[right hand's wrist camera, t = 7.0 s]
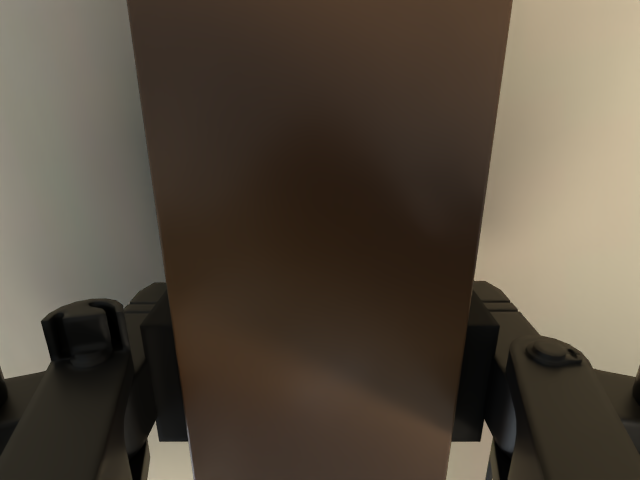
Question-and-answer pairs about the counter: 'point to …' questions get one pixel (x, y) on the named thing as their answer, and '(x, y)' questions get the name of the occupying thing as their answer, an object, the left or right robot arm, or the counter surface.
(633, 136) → the counter surface
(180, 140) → the post
